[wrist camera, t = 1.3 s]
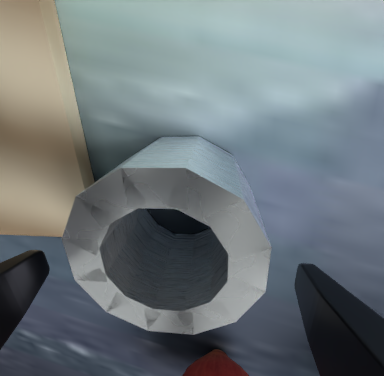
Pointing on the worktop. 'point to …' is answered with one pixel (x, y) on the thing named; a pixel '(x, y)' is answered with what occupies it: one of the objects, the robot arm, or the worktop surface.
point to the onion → (215, 366)
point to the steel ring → (170, 239)
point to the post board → (37, 123)
